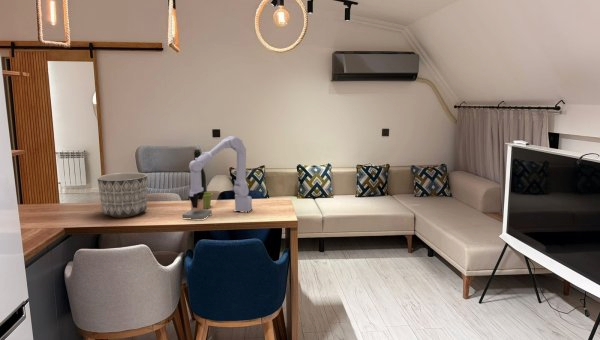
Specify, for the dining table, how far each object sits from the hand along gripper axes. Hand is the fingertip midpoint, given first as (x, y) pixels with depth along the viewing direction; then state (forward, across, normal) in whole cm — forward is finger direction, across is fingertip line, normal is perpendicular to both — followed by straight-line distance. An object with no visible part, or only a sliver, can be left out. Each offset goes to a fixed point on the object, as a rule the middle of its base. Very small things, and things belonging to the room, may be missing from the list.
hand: (197, 206), depth 244 cm
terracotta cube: (+2, 0, 0) cm, 2 cm away
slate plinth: (+6, 0, 0) cm, 6 cm away
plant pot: (+6, -20, -4) cm, 21 cm away
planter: (+6, +2, -43) cm, 43 cm away
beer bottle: (+6, -39, -16) cm, 43 cm away
